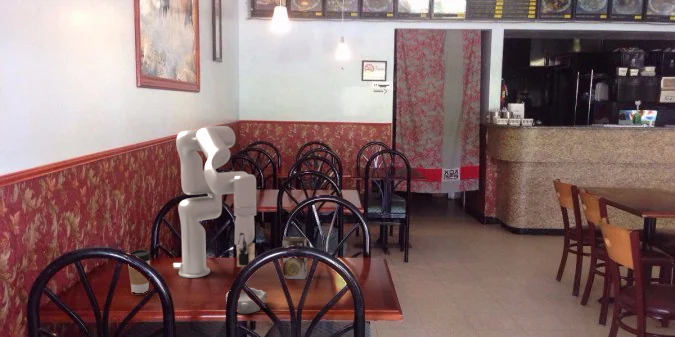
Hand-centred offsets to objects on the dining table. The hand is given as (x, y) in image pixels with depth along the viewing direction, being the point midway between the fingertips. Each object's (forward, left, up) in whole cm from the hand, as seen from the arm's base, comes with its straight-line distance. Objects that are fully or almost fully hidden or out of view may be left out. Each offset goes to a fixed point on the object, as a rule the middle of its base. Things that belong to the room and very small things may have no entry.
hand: (245, 261), depth 189 cm
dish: (0, 0, -16) cm, 16 cm away
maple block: (0, 0, -1) cm, 1 cm away
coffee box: (+12, +34, -16) cm, 40 cm away
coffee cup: (-43, +11, -16) cm, 47 cm away
